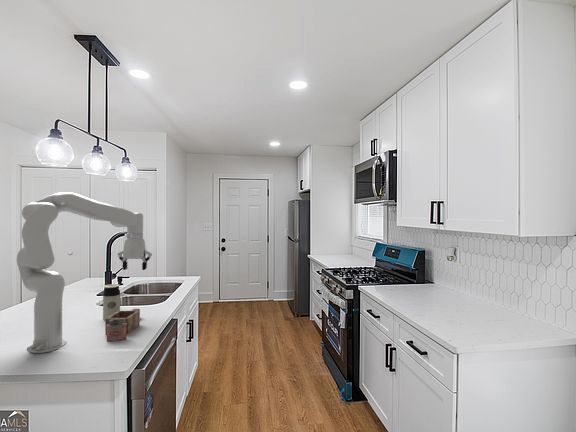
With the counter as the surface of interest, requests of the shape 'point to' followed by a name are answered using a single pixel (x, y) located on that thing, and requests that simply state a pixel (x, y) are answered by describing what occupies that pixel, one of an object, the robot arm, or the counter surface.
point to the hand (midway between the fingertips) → (134, 269)
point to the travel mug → (111, 300)
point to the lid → (137, 310)
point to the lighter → (116, 330)
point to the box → (130, 319)
